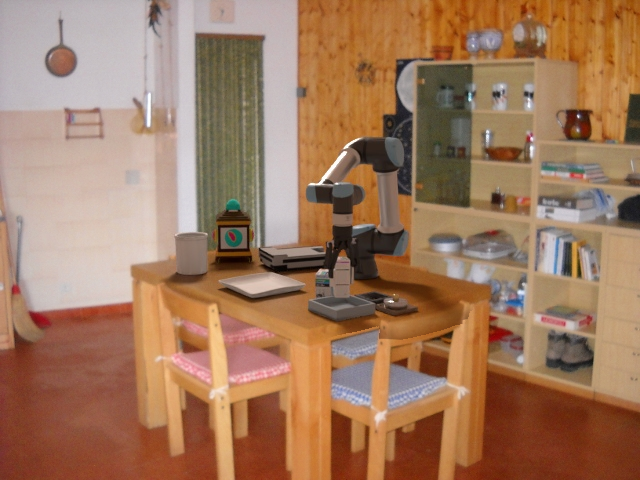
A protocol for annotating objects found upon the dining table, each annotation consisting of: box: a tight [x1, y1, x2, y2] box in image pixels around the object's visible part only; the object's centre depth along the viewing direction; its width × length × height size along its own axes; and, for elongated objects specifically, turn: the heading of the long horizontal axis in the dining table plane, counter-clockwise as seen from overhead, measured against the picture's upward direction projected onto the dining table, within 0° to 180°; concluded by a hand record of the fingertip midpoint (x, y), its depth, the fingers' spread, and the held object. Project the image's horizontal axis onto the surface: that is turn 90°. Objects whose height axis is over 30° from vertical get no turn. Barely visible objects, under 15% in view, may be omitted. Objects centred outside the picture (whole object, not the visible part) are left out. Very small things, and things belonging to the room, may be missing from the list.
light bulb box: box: [314, 268, 334, 299], centre depth 310 cm, size 11×7×11 cm, turn 170°
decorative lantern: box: [212, 198, 255, 264], centre depth 378 cm, size 20×20×30 cm
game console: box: [258, 245, 333, 273], centre depth 368 cm, size 21×32×8 cm, turn 114°
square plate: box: [217, 271, 307, 299], centre depth 324 cm, size 27×27×4 cm
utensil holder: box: [174, 231, 209, 276], centre depth 353 cm, size 15×15×18 cm
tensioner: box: [353, 290, 419, 317], centre depth 299 cm, size 24×12×6 cm, turn 35°
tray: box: [307, 294, 376, 322], centre depth 291 cm, size 18×18×4 cm
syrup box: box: [333, 256, 351, 298], centre depth 289 cm, size 6×6×14 cm
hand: (341, 284), depth 289 cm, fingers closed on syrup box, 8 cm apart
